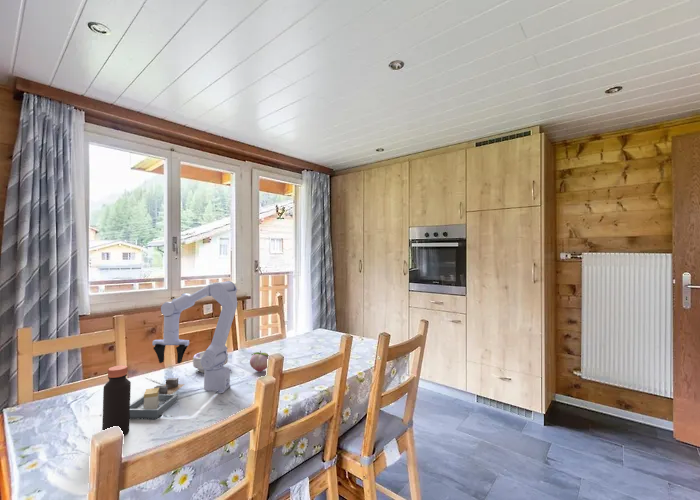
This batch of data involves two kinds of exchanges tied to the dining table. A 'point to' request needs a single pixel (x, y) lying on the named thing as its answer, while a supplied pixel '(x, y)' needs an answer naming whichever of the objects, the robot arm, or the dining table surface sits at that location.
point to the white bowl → (197, 361)
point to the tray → (152, 412)
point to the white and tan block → (151, 398)
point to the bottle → (117, 399)
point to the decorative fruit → (259, 361)
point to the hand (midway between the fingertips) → (170, 362)
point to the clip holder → (169, 386)
